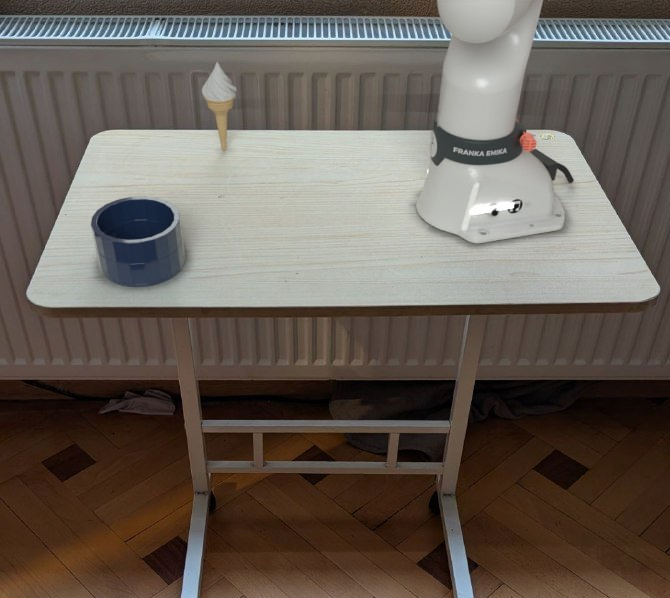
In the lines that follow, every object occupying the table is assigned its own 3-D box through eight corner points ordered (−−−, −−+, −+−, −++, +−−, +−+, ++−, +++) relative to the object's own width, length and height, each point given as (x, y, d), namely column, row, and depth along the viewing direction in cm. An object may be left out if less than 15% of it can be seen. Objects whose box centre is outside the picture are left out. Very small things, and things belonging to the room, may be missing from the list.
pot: (185, 237, 120) (180, 194, 116) (184, 284, 112) (179, 240, 107) (103, 241, 119) (95, 198, 114) (96, 289, 111) (87, 244, 106)
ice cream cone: (238, 159, 138) (233, 69, 127) (204, 158, 138) (196, 67, 127) (242, 143, 142) (237, 54, 131) (209, 142, 142) (201, 53, 131)
